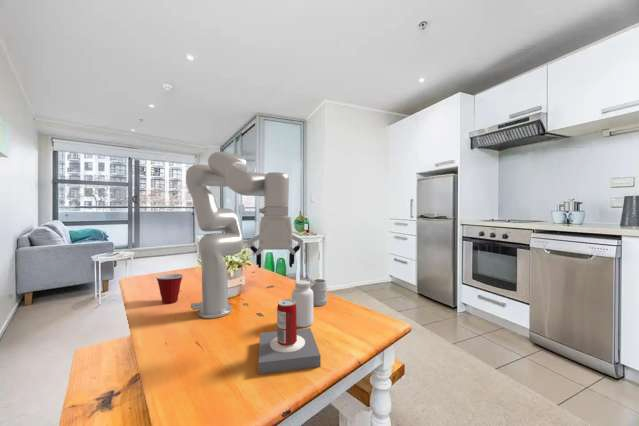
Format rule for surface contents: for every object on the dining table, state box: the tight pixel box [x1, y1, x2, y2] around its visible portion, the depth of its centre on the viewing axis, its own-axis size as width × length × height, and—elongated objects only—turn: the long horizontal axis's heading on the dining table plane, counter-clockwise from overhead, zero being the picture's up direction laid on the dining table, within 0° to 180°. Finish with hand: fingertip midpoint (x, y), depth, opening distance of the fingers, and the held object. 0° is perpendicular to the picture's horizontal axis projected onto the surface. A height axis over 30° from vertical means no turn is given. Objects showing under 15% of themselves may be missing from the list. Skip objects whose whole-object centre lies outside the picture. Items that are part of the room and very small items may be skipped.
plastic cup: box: [155, 273, 184, 305], centre depth 118 cm, size 11×11×12 cm
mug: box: [306, 278, 329, 307], centre depth 114 cm, size 8×12×12 cm, turn 132°
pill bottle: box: [291, 279, 314, 328], centre depth 96 cm, size 8×8×15 cm
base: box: [258, 327, 322, 375], centre depth 76 cm, size 16×16×3 cm
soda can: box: [276, 298, 298, 347], centre depth 76 cm, size 6×6×12 cm
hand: (275, 266), depth 83 cm, fingers open, 9 cm apart
